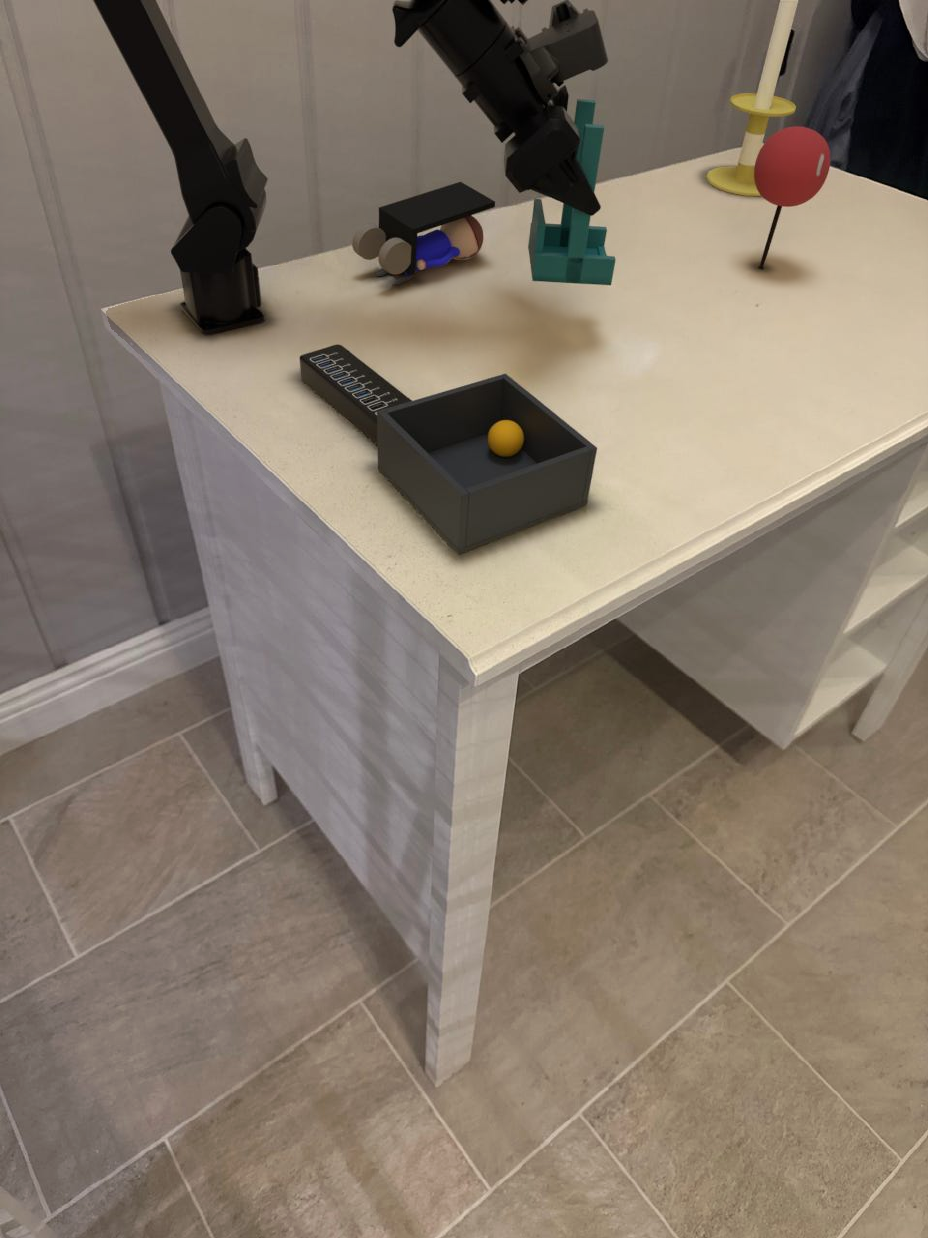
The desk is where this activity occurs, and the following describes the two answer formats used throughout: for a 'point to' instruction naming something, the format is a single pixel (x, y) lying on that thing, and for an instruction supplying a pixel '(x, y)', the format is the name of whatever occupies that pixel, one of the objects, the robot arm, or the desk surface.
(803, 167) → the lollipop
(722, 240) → the desk surface
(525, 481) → the bin
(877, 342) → the desk surface
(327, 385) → the multiport hub
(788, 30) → the candle
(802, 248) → the desk surface
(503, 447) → the toy ball
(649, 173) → the desk surface
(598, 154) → the tray with tall posts
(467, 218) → the figurine character
